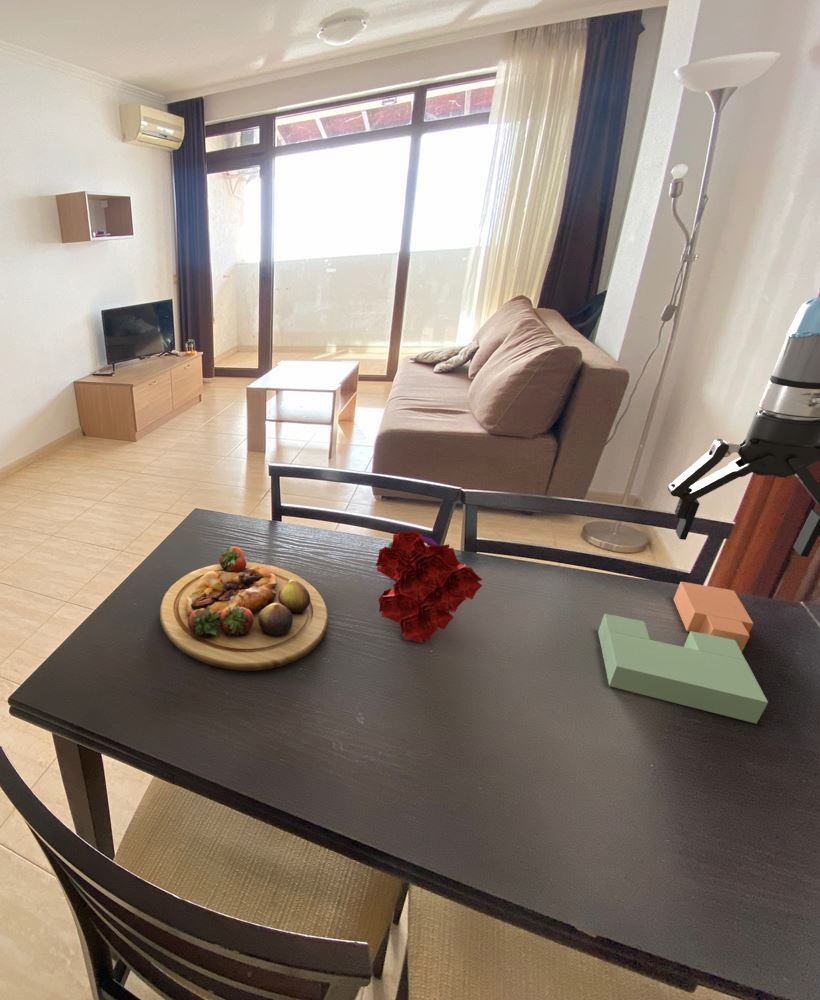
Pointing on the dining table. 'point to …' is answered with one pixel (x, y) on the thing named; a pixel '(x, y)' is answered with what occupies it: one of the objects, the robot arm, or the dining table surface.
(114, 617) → the dining table surface
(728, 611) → the peach pad
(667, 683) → the green pad
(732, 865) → the dining table surface
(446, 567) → the bouquet
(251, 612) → the wooden plate
